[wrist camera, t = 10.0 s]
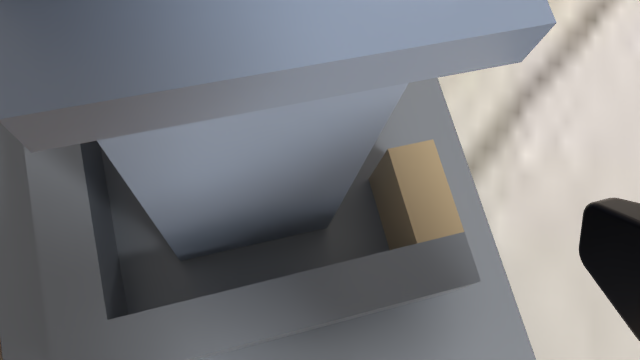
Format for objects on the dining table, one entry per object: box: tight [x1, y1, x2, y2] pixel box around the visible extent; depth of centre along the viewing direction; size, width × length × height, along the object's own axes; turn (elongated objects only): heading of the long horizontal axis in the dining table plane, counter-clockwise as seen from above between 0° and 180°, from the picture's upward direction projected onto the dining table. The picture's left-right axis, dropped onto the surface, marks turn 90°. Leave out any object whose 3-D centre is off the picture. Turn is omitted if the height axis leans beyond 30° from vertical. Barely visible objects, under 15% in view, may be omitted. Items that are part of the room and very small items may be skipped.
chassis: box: [0, 78, 536, 360], centre depth 15 cm, size 14×13×3 cm
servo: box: [0, 0, 556, 261], centre depth 9 cm, size 7×4×14 cm, turn 14°
